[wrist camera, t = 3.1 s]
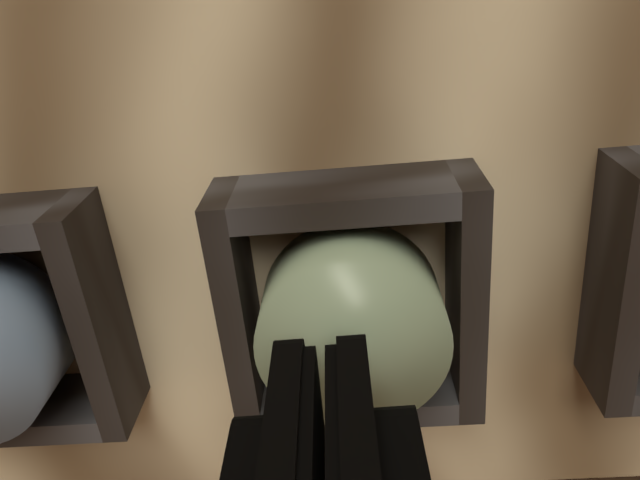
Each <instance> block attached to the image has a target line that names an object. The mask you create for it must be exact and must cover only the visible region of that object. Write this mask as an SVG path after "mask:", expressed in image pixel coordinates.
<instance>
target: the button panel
mask: <svg viewBox="0 0 640 480" xmlns="http://www.w3.org/2000/svg"><path fill="white" fill-rule="evenodd" d="M384 226H386V227H388V228H391V229H393V230H395V231H397V232H399V233H401V234H402V235H404V236H405V237H407V238H408V239H410V240H411V241H412V242H413V243H414V244H415V245H416V246H417V247H419V248H420V250H421V251H422V252H423V253H424V255H425V256H426V257H427V259H428V261H429V262H430V264H431V266H432V268H433V271H434V273H435V276H436V279H437V283H438V286H439V289H440V292H441V296H442V299H443V302H444V305H445V309H446V312H447V315H448V318H449V322H450V325H451V329H452V334H453V343H454V349H453V358H452V362H451V366H450V369H449V371H448V374H447V376H446V378H445V380H444V382H443V383H442V385H441V387H440V388H439V389H438V390H437V392H436V393H435V394H434V395H433V396H432V397H431V398H430V399H429V400H428V401H427V402H426V403H425V404H424V405H422V406H421V407H420V408H418V409H417V413H418V418H419V423H420V428H421V433H422V437H423V442H424V447H425V452H426V457H427V462H428V466H429V471H430V476H431V480H557V479H580V478H603V477H626V476H640V0H0V253H10V254H13V255H15V256H17V257H20V258H22V259H24V260H26V261H28V262H30V263H31V264H33V265H35V266H36V267H38V268H39V269H41V270H42V271H43V272H45V273H46V274H47V275H48V276H49V278H50V281H51V284H52V287H53V290H54V293H55V296H56V299H57V302H58V305H59V309H60V312H61V315H62V318H63V321H64V324H65V327H66V330H67V333H68V336H69V339H70V343H71V346H72V349H73V352H74V355H75V358H74V360H73V362H72V363H71V365H70V367H69V368H68V370H67V371H66V373H65V374H64V376H63V377H62V379H61V380H60V382H59V383H58V385H57V387H56V388H55V390H54V391H53V393H52V394H51V396H50V397H49V399H48V400H47V402H46V404H45V405H44V407H43V408H42V410H41V411H40V413H39V414H38V416H37V417H36V419H35V420H34V422H33V423H32V424H31V425H30V426H29V427H28V428H27V430H25V431H24V432H23V433H21V434H20V435H19V436H17V437H15V438H13V439H11V440H9V441H6V442H3V443H1V444H0V480H219V478H220V473H221V468H222V463H223V458H224V453H225V448H226V443H227V438H228V433H229V428H230V424H231V421H232V419H233V417H238V416H253V415H263V412H264V405H265V397H266V390H267V387H266V386H265V384H264V382H263V381H262V379H261V377H260V375H259V372H258V370H257V367H256V363H255V359H254V349H253V345H254V334H255V330H256V325H257V321H258V316H259V311H260V307H261V302H262V298H263V293H264V288H265V284H266V280H267V276H268V273H269V271H270V268H271V266H272V264H273V263H274V261H275V259H276V258H277V256H278V255H279V254H280V252H281V251H282V250H283V249H284V248H285V247H286V246H287V245H288V244H289V243H290V242H291V241H293V240H294V239H295V238H297V237H298V236H300V235H301V234H303V233H305V232H312V231H326V230H341V229H355V228H369V227H384Z"/></svg>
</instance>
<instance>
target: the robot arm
mask: <svg viewBox="0 0 640 480" xmlns="http://www.w3.org/2000/svg"><path fill="white" fill-rule="evenodd" d="M219 480H431V476H430V471H429V466H428V462H427V457H426V452H425V447H424V442H423V437H422V433H421V428H420V423H419V418H418V413H417V409H416V406H415V405H405V406H390V407H375V408H374V406H373V397H372V388H371V379H370V370H369V361H368V352H367V343H366V335H365V334H358V335H344V336H336V344H330V345H325V424H324V415H323V406H322V397H321V388H320V379H319V369H318V360H317V351H316V346H305V343H304V339H303V338H302V339H287V340H274V341H273V345H272V352H271V360H270V367H269V375H268V382H267V390H266V397H265V405H264V412H263V415H253V416H238V417H233V419H232V421H231V424H230V428H229V433H228V438H227V443H226V448H225V453H224V458H223V463H222V468H221V473H220V478H219Z"/></svg>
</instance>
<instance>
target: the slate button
mask: <svg viewBox="0 0 640 480" xmlns="http://www.w3.org/2000/svg"><path fill="white" fill-rule="evenodd" d="M74 358H75V355H74V352H73V349H72V346H71V343H70V339H69V336H68V333H67V330H66V327H65V324H64V321H63V318H62V315H61V312H60V309H59V305H58V302H57V299H56V296H55V293H54V290H53V287H52V284H51V281H50V278H49V276H48V275H47V274H46V273H45V272H43V271H42V270H41V269H39V268H38V267H36V266H35V265H33V264H31V263H30V262H28V261H26V260H24V259H22V258H20V257H17V256H15V255H13V254H10V253H0V444H1V443H3V442H6V441H9V440H11V439H13V438H15V437H17V436H19V435H20V434H21V433H23V432H24V431H25V430H27V428H28V427H29V426H30V425H31V424H32V423H33V422H34V420H35V419H36V417H37V416H38V414H39V413H40V411H41V410H42V408H43V407H44V405H45V404H46V402H47V400H48V399H49V397H50V396H51V394H52V393H53V391H54V390H55V388H56V387H57V385H58V383H59V382H60V380H61V379H62V377H63V376H64V374H65V373H66V371H67V370H68V368H69V367H70V365H71V363H72V362H73V360H74Z"/></svg>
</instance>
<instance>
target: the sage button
mask: <svg viewBox="0 0 640 480" xmlns="http://www.w3.org/2000/svg"><path fill="white" fill-rule="evenodd" d="M358 334H365V335H366V343H367V352H368V361H369V370H370V379H371V388H372V397H373V406H374V408H375V407H390V406H405V405H415V406H416V409H418V408H420V407H421V406H422V405H424V404H425V403H426V402H427V401H428V400H429V399H430V398H431V397H432V396H433V395H434V394H435V393H436V392H437V390H438V389H439V388H440V387H441V385H442V383H443V382H444V380H445V378H446V376H447V374H448V371H449V369H450V366H451V362H452V358H453V349H454V343H453V334H452V329H451V325H450V322H449V318H448V315H447V312H446V309H445V305H444V302H443V299H442V296H441V292H440V289H439V286H438V283H437V279H436V276H435V273H434V271H433V268H432V266H431V264H430V262H429V261H428V259H427V257H426V256H425V255H424V253H423V252H422V251H421V250H420V248H419V247H417V246H416V245H415V244H414V243H413V242H412V241H411V240H410V239H408V238H407V237H405V236H404V235H402V234H401V233H399V232H397V231H395V230H393V229H391V228H388V227H386V226H384V227H369V228H355V229H341V230H326V231H312V232H305V233H303V234H301V235H300V236H298V237H297V238H295V239H294V240H293V241H291V242H290V243H289V244H288V245H287V246H286V247H285V248H284V249H283V250H282V251H281V252H280V254H279V255H278V256H277V258H276V259H275V261H274V263H273V264H272V266H271V268H270V271H269V273H268V276H267V280H266V284H265V288H264V293H263V298H262V302H261V307H260V311H259V316H258V321H257V325H256V330H255V334H254V345H253V349H254V359H255V363H256V367H257V370H258V372H259V375H260V377H261V379H262V381H263V382H264V384H265V386H266V387H267V382H268V375H269V367H270V360H271V352H272V345H273V341H274V340H287V339H302V338H303V339H304V343H305V346H316V351H317V360H318V369H319V379H320V388H321V397H322V406H323V415H324V424H325V345H330V344H336V336H344V335H358Z"/></svg>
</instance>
